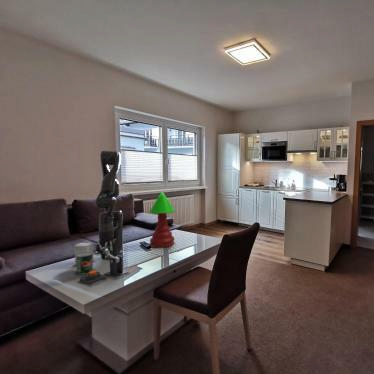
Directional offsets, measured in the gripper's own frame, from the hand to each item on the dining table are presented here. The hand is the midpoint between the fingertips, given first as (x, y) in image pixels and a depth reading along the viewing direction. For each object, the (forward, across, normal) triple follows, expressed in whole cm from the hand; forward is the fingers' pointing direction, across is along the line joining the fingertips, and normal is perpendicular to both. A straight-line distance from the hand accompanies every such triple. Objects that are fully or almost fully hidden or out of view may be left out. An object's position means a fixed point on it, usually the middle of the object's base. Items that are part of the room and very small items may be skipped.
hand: (106, 257), depth 140 cm
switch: (0, 0, +4) cm, 4 cm away
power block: (+9, +11, +4) cm, 15 cm away
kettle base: (+9, 0, +8) cm, 12 cm away
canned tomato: (+9, +6, -12) cm, 16 cm away
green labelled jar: (+9, -2, -25) cm, 27 cm away
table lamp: (+9, -56, -11) cm, 58 cm away
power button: (+5, +11, +5) cm, 13 cm away
